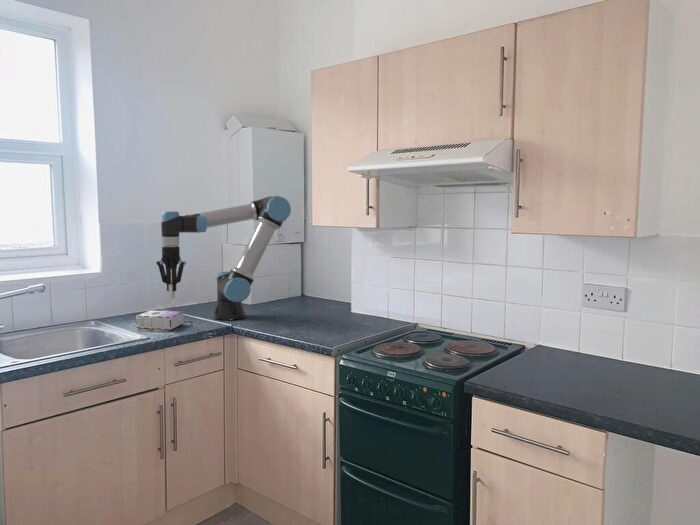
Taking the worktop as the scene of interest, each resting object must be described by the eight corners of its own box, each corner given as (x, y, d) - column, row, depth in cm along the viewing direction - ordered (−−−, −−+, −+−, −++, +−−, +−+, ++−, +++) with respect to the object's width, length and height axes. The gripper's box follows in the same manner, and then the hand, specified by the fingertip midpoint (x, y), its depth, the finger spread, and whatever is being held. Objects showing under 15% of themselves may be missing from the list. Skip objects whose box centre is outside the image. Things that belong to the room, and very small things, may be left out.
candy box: (183, 323, 258) (150, 322, 260) (183, 311, 258) (149, 309, 259) (171, 330, 244) (135, 328, 246) (170, 317, 244) (135, 315, 246)
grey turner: (192, 321, 265) (192, 319, 265) (189, 323, 261) (189, 321, 261) (160, 320, 267) (160, 318, 267) (157, 322, 263) (156, 320, 263)
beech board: (182, 324, 260) (182, 322, 260) (167, 331, 244) (167, 330, 244) (153, 323, 261) (153, 321, 261) (137, 330, 245) (137, 329, 245)
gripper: (188, 245, 251) (189, 297, 253) (160, 245, 252) (161, 296, 255) (181, 246, 244) (182, 300, 246) (152, 246, 245) (154, 299, 247)
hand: (171, 298), depth 250 cm, fingers closed
